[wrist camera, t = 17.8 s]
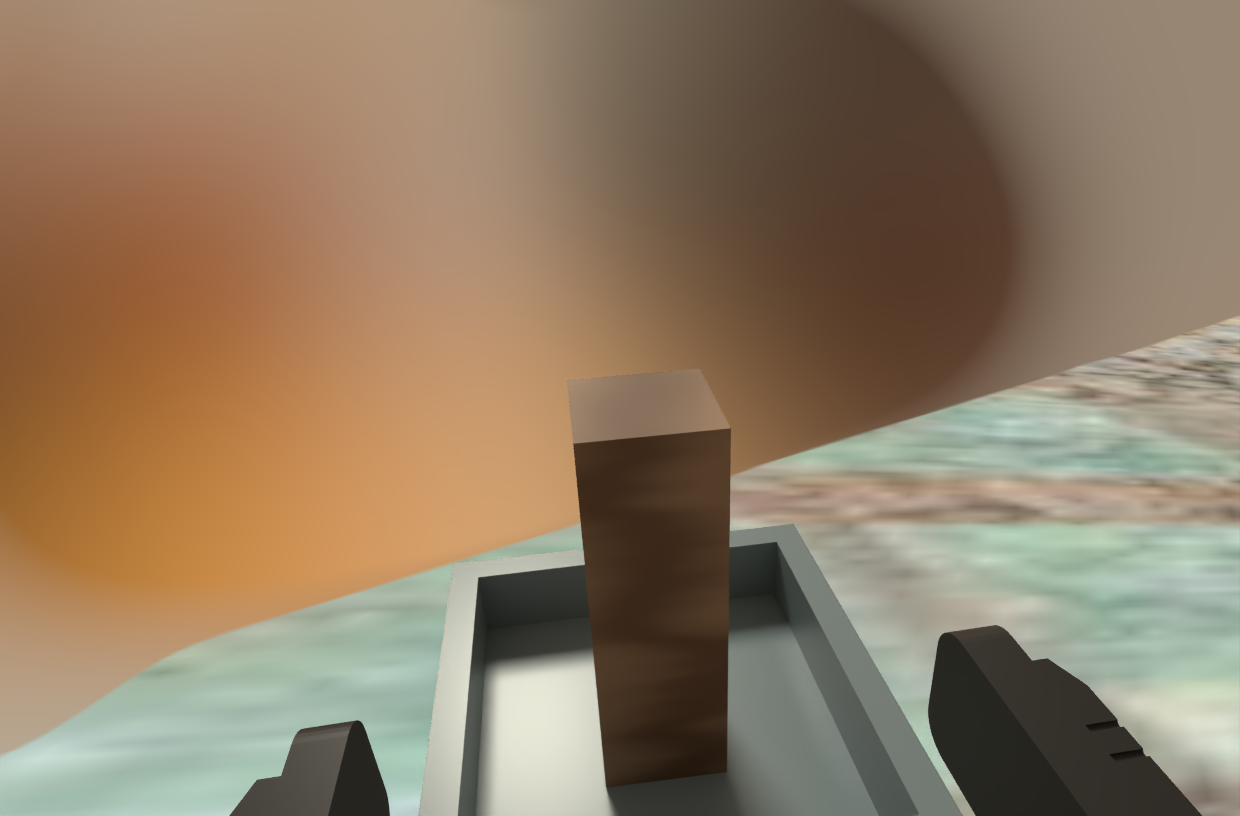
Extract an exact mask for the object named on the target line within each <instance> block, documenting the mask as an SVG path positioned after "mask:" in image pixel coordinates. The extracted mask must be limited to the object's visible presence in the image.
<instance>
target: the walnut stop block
mask: <svg viewBox="0 0 1240 816" xmlns="http://www.w3.org/2000/svg"><path fill="white" fill-rule="evenodd" d="M567 382H568V392H569V403H570V412H571V423H572V434H573V445H574V455H575V465H576V477H577V487H578V498H579V508H580V519H581V530H582V540H583V551H584V561H585V572H586V582H587V593H588V604H589V614H590V625H591V635H592V646H593V656H594V667H595V678H596V688H597V699H598V709H599V720H600V730H601V741H602V751H603V762H604V772H605V783H606V788H608V787H616V786H623V785H631V784H639V783H647V782H654V781H662V780H670V779H677V778H685V777H693V776H701V775H708V774H716V773H724V772H727V731H728V636H729V541H730V447H731V446H730V443H731V428H730V426H729V424H728V422H727V420H726V418H725V416H724V415H723V413H722V411H721V409H720V407H719V405H718V403H717V401H716V399H715V398H714V396H713V394H712V392H711V390H710V388H709V386H708V384H707V382H706V380H705V378H704V376H703V375H702V372H701V371H700V369H689V370H678V371H668V372H656V373H645V374H634V375H623V376H612V377H602V378H591V379H580V380H569V381H567Z"/></svg>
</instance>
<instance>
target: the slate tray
mask: <svg viewBox="0 0 1240 816" xmlns="http://www.w3.org/2000/svg"><path fill="white" fill-rule="evenodd" d="M418 816H963V815H962V813H961V812H960V810H959V808H958V807H957V805H956V803H955V801H954V800H953V798H952V796H951V795H950V793H949V791H948V789H947V788H946V786H945V784H944V782H943V781H942V779H941V777H940V776H939V774H938V772H937V770H936V769H935V767H934V765H933V763H932V762H931V760H930V758H929V757H928V755H927V753H926V751H925V750H924V748H923V746H922V745H921V743H920V741H919V739H918V738H917V736H916V734H915V732H914V731H913V729H912V727H911V726H910V724H909V722H908V720H907V719H906V717H905V715H904V714H903V712H902V710H901V708H900V707H899V705H898V703H897V701H896V700H895V698H894V696H893V695H892V693H891V691H890V689H889V688H888V686H887V684H886V682H885V681H884V679H883V677H882V676H881V674H880V672H879V670H878V669H877V667H876V665H875V664H874V662H873V660H872V658H871V657H870V655H869V653H868V651H867V650H866V648H865V646H864V645H863V643H862V641H861V639H860V638H859V636H858V634H857V633H856V631H855V629H854V627H853V626H852V624H851V622H850V620H849V619H848V617H847V615H846V614H845V612H844V610H843V608H842V607H841V605H840V603H839V601H838V600H837V598H836V596H835V595H834V593H833V591H832V589H831V588H830V586H829V584H828V583H827V581H826V579H825V577H824V576H823V574H822V572H821V570H820V569H819V567H818V565H817V564H816V562H815V560H814V558H813V557H812V555H811V553H810V551H809V550H808V548H807V546H806V545H805V543H804V541H803V539H802V538H801V536H800V534H799V533H798V531H797V529H796V527H795V526H794V524H789V525H781V526H772V527H764V528H755V529H747V530H738V531H730V541H729V636H728V731H727V772H724V773H716V774H708V775H701V776H693V777H685V778H677V779H670V780H662V781H654V782H647V783H639V784H631V785H623V786H616V787H608V788H606V783H605V772H604V762H603V751H602V741H601V730H600V720H599V709H598V699H597V688H596V678H595V667H594V656H593V646H592V635H591V625H590V614H589V604H588V593H587V582H586V572H585V561H584V551H583V549H576V550H568V551H559V552H551V553H542V554H534V555H525V556H517V557H508V558H500V559H491V560H483V561H474V562H466V563H457V564H453V569H452V576H451V583H450V590H449V598H448V605H447V612H446V619H445V627H444V634H443V641H442V648H441V656H440V663H439V670H438V677H437V685H436V692H435V699H434V706H433V713H432V721H431V728H430V735H429V742H428V750H427V757H426V764H425V771H424V779H423V786H422V793H421V800H420V808H419V815H418Z"/></svg>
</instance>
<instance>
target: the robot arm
mask: <svg viewBox="0 0 1240 816" xmlns="http://www.w3.org/2000/svg"><path fill="white" fill-rule="evenodd" d="M928 717H929V724H930V729H931V733H932V736H933V739H934V742H935V745H936V747H937V749H938V751H939V753H940V755H941V757H942V759H943V761H944V762H945V764H946V766H947V767H948V769H949V771H950V773H951V774H952V776H953V778H954V779H955V781H956V783H957V785H958V786H959V788H960V790H961V791H962V793H963V795H964V796H965V798H966V800H967V802H968V803H969V805H970V807H971V808H972V810H973V812H974V813H975V815H976V816H1202V815H1201V814H1200V813H1199V812H1198V811H1197V809H1196V808H1195V807H1194V806H1193V805H1192V804H1191V803H1190V801H1189V800H1188V799H1187V798H1186V797H1185V796H1184V795H1183V794H1182V792H1181V791H1180V790H1179V789H1178V788H1177V787H1176V786H1175V784H1174V783H1173V782H1172V781H1171V780H1170V779H1169V778H1168V776H1167V775H1166V774H1165V773H1164V772H1163V771H1162V770H1161V769H1160V767H1159V766H1158V765H1157V764H1156V763H1155V762H1154V761H1153V759H1152V758H1151V757H1150V756H1145V754H1144V753H1143V748H1142V747H1141V746H1140V745H1139V744H1138V742H1137V741H1136V740H1135V739H1134V738H1133V737H1132V736H1131V734H1130V733H1129V732H1128V731H1127V730H1126V729H1125V728H1124V727H1120V726H1119V724H1118V722H1117V719H1116V717H1115V716H1114V715H1113V714H1112V713H1111V712H1110V711H1109V709H1108V708H1107V707H1106V706H1105V705H1104V704H1103V703H1102V702H1101V700H1100V699H1099V698H1098V697H1097V696H1096V695H1095V694H1094V692H1093V691H1092V690H1091V689H1090V688H1089V687H1088V686H1087V685H1086V684H1084V683H1083V682H1082V681H1080V680H1079V679H1077V678H1076V677H1074V676H1073V675H1071V674H1070V673H1068V672H1067V671H1065V670H1064V669H1062V668H1061V667H1059V666H1058V665H1056V664H1055V663H1053V662H1052V661H1050V660H1049V659H1040V660H1034V661H1032V660H1031V659H1030V658H1029V656H1028V655H1027V654H1026V653H1025V652H1024V650H1023V649H1022V648H1021V647H1020V646H1019V644H1018V643H1017V642H1016V641H1015V640H1014V638H1013V637H1012V636H1011V635H1010V634H1009V633H1008V632H1007V631H1006V630H1005V629H1004V628H1002V627H1000V626H997V625H994V626H987V627H980V628H974V629H967V630H960V631H954V632H947V633H944V634H942V635H941V636H940V639H939V641H938V647H937V653H936V660H935V666H934V673H933V680H932V686H931V693H930V699H929V707H928ZM230 816H390V812H389V803H388V797H387V793H386V789H385V786H384V783H383V780H382V777H381V775H380V772H379V769H378V766H377V763H376V760H375V757H374V754H373V751H372V748H371V745H370V742H369V739H368V736H367V733H366V731H365V728H364V726H363V724H362V723H361V722H360V721H358V720H357V721H350V722H344V723H337V724H331V725H324V726H318V727H311V728H305V729H301V730H300V731H298V733H297V734H296V735H295V737H294V739H293V742H292V745H291V748H290V751H289V754H288V757H287V760H286V763H285V766H284V769H283V772H282V775H281V776H279V777H272V778H266V779H260V780H256V782H255V783H254V784H253V786H252V787H251V788H250V790H249V791H248V792H247V794H246V795H245V796H244V797H243V799H242V800H241V801H240V803H239V804H238V805H237V807H236V808H235V809H234V811H233V812H232V813H231V814H230Z"/></svg>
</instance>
